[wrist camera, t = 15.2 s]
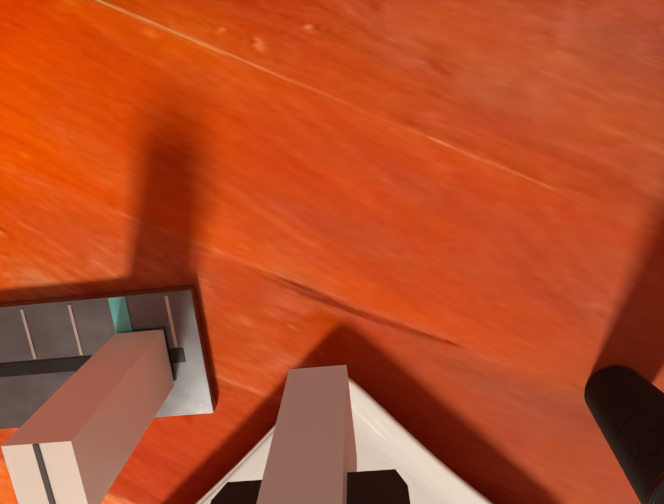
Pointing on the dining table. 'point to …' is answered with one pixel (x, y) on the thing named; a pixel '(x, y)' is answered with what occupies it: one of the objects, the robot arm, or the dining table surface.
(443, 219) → the dining table surface
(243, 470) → the square plate
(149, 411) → the fader tab
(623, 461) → the drinking cup
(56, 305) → the dark grey marked board
